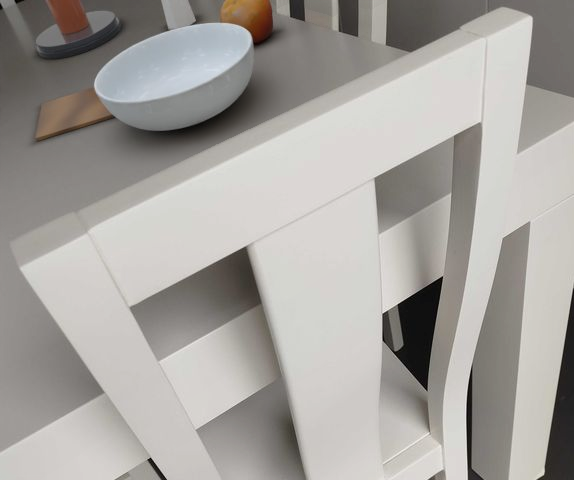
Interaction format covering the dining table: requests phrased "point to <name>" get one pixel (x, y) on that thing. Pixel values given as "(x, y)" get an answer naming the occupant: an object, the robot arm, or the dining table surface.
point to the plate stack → (78, 36)
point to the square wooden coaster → (71, 113)
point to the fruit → (249, 16)
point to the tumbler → (68, 15)
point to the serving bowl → (178, 76)
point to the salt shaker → (178, 13)
